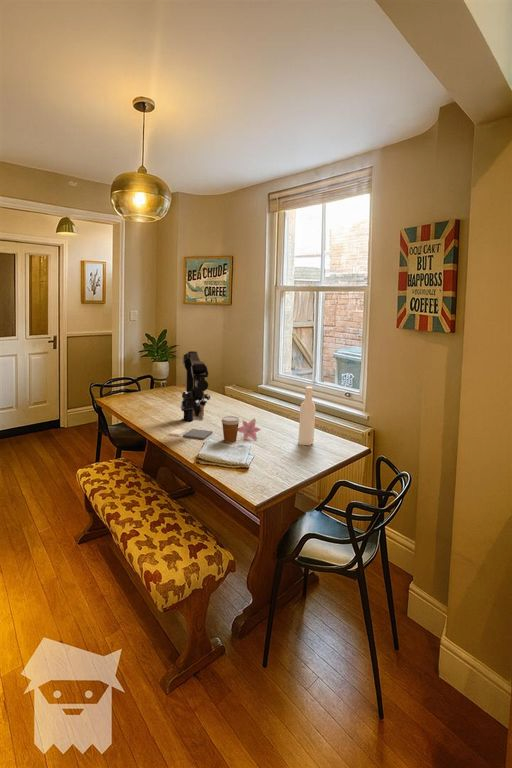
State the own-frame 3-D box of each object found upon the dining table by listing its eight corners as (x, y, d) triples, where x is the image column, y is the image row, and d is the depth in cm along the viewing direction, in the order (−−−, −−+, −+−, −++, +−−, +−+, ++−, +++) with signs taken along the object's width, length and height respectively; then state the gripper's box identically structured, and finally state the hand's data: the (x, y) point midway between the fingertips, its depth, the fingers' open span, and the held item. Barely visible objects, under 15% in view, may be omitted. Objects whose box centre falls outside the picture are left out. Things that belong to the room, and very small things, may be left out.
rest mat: (192, 430, 235) (192, 428, 234) (212, 433, 231) (212, 431, 231) (183, 436, 223) (183, 435, 223) (204, 439, 220) (204, 437, 220)
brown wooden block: (195, 418, 228) (195, 404, 226) (203, 419, 226) (203, 405, 225) (192, 420, 225) (192, 405, 223) (201, 421, 224) (201, 406, 222)
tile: (176, 428, 233) (169, 432, 226) (186, 430, 231) (179, 434, 224) (176, 431, 233) (169, 435, 226) (186, 433, 232) (179, 437, 224)
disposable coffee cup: (217, 439, 221) (217, 417, 219) (232, 436, 227) (233, 415, 225) (227, 444, 214) (228, 422, 211) (242, 441, 219) (243, 419, 217)
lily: (232, 439, 225) (235, 427, 219) (241, 426, 234) (244, 414, 228) (252, 449, 223) (256, 436, 217) (261, 435, 232) (264, 422, 226)
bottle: (303, 439, 226) (307, 384, 220) (316, 443, 221) (320, 387, 215) (295, 443, 220) (298, 387, 214) (307, 447, 215) (311, 389, 209)
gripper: (192, 382, 233) (191, 409, 236) (176, 388, 215) (176, 418, 219) (210, 384, 230) (210, 411, 233) (196, 391, 212) (196, 420, 216)
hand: (198, 415), depth 225 cm, fingers closed on brown wooden block, 3 cm apart
